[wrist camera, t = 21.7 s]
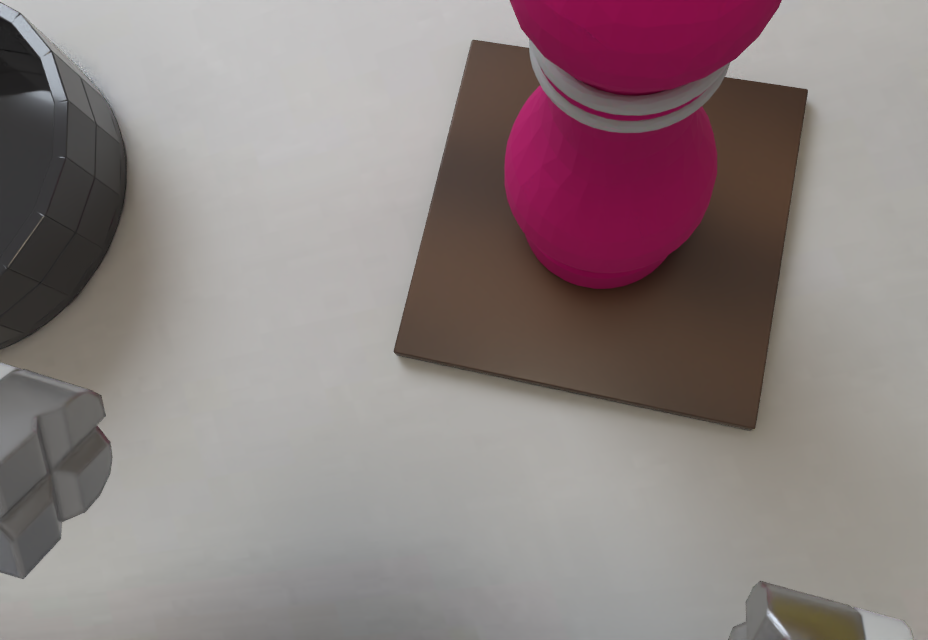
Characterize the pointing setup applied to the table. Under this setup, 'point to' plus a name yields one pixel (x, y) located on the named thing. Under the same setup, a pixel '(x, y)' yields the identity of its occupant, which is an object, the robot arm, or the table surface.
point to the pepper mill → (620, 129)
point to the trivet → (615, 309)
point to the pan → (51, 178)
